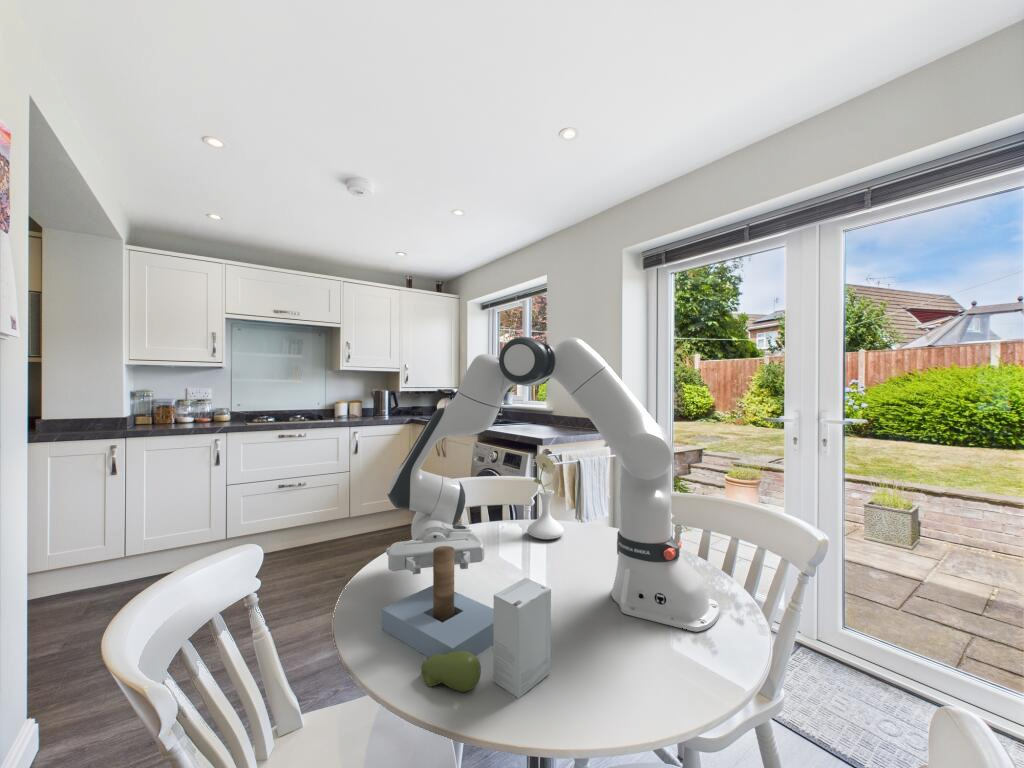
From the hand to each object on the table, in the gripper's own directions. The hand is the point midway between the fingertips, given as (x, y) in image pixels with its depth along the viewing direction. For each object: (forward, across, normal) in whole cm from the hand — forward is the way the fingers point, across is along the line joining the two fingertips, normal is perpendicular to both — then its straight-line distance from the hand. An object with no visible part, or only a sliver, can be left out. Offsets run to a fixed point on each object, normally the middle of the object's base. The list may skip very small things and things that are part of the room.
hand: (441, 567), depth 91 cm
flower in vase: (-42, +37, +11) cm, 57 cm away
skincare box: (+20, +11, +11) cm, 26 cm away
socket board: (+3, 0, +11) cm, 12 cm away
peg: (+3, 0, +11) cm, 12 cm away
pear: (+18, -1, +12) cm, 21 cm away
